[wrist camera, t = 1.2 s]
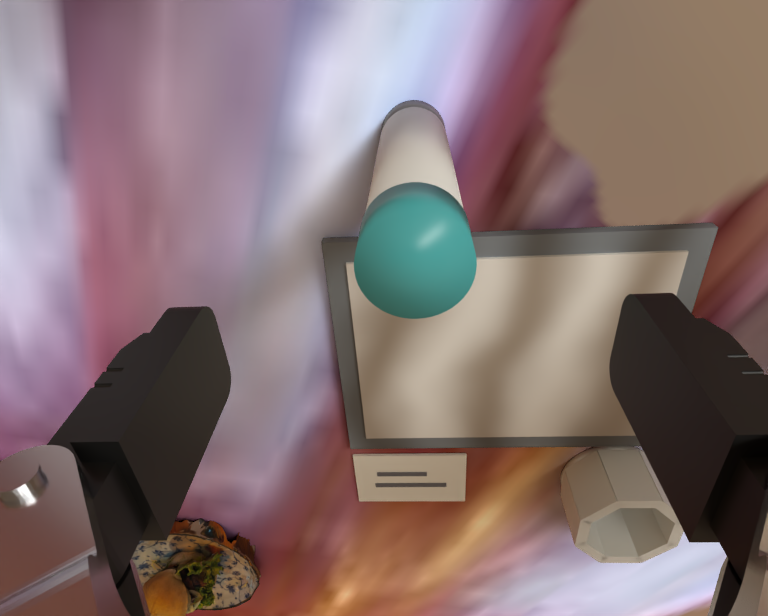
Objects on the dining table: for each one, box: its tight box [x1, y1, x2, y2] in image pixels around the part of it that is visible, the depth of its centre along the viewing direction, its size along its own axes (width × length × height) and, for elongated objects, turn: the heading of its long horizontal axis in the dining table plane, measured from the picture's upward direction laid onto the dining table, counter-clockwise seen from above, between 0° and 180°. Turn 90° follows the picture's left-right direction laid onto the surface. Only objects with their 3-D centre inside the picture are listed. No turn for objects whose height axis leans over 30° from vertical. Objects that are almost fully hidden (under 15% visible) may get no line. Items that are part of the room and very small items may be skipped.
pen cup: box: [560, 446, 684, 563], centre depth 35 cm, size 6×6×4 cm
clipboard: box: [322, 223, 718, 449], centre depth 30 cm, size 20×16×1 cm
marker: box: [354, 100, 477, 319], centre depth 19 cm, size 3×3×14 cm
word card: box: [353, 453, 467, 501], centre depth 37 cm, size 5×8×1 cm, turn 94°
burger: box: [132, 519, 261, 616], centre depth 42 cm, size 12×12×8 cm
